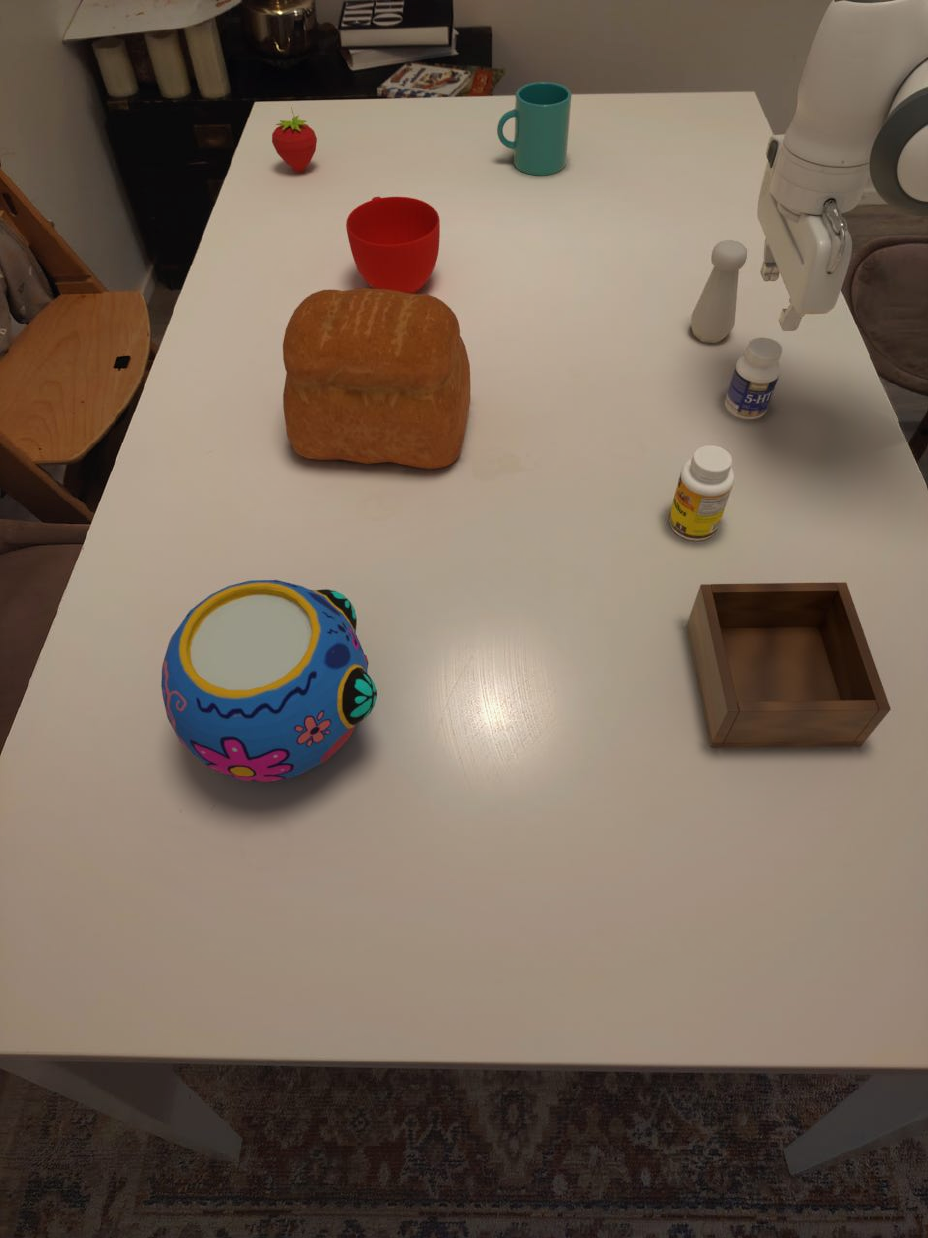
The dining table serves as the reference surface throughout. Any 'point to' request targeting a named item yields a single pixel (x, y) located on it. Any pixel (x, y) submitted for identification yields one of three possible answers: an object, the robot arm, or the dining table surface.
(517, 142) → the cup
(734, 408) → the pill bottle
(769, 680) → the box
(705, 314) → the salt shaker
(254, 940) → the dining table surface
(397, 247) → the ceramic cup
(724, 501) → the supplement bottle
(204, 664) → the ceramic pot
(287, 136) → the strawberry
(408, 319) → the bread
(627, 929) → the dining table surface
